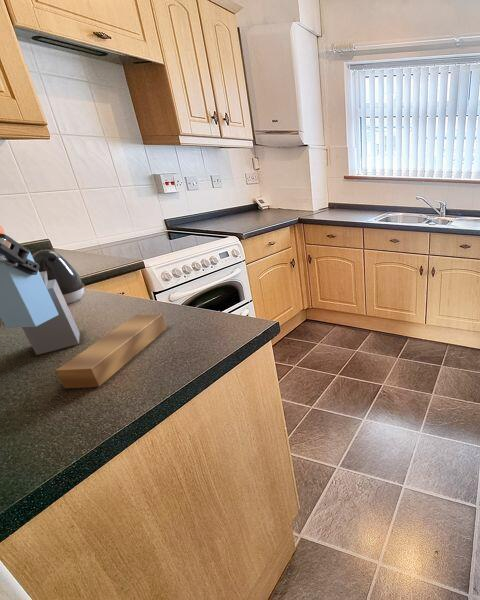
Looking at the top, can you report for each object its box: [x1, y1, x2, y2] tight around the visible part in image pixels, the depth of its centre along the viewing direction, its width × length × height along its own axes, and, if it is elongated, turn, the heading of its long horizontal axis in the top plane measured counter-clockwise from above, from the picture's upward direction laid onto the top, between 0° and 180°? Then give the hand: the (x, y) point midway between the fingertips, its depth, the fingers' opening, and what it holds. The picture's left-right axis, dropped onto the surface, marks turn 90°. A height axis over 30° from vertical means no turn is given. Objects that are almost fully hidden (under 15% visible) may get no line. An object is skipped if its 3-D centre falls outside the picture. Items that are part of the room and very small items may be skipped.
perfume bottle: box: [21, 271, 81, 356], centre depth 72 cm, size 7×7×18 cm
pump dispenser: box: [32, 249, 85, 305], centre depth 93 cm, size 10×10×15 cm
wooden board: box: [55, 313, 168, 389], centre depth 70 cm, size 22×6×4 cm, turn 4°
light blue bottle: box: [0, 226, 59, 329], centre depth 60 cm, size 18×5×5 cm
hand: (19, 270), depth 61 cm, fingers closed on light blue bottle, 5 cm apart
